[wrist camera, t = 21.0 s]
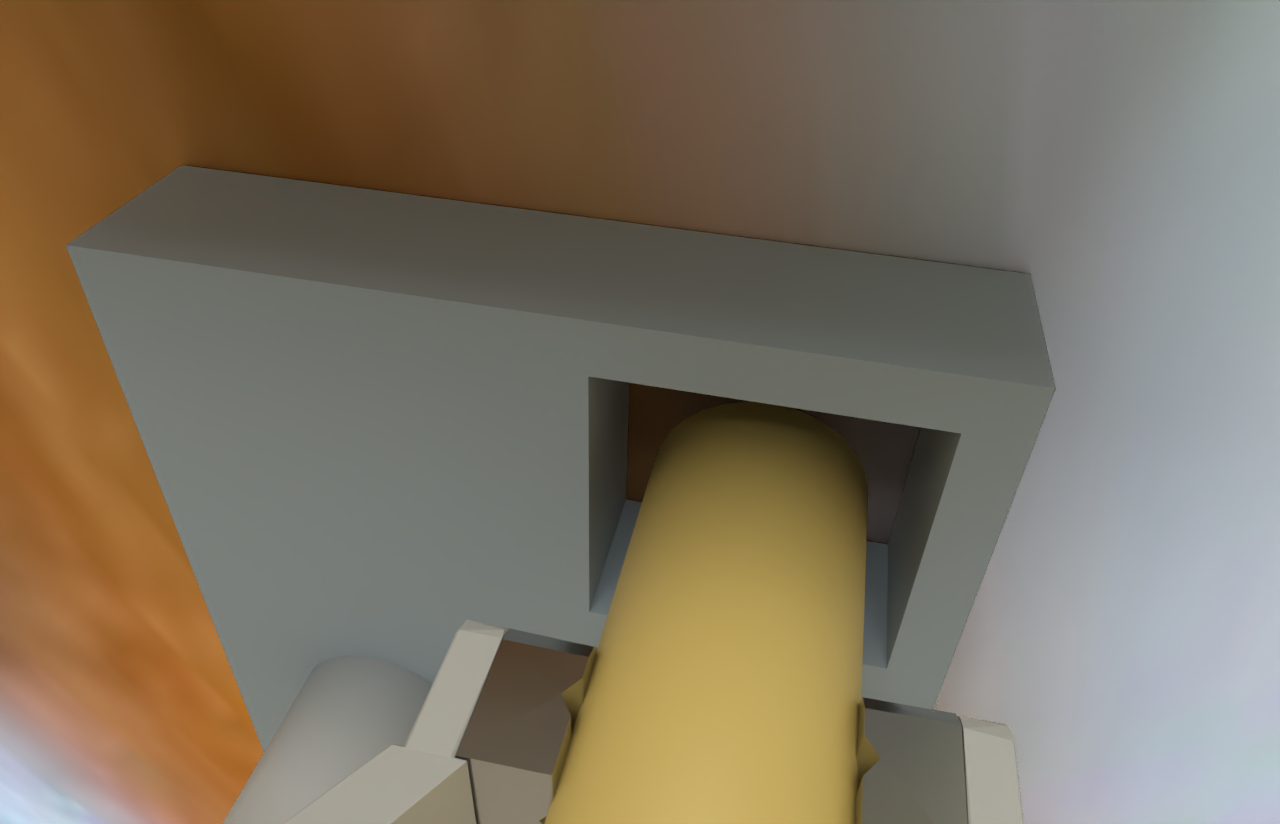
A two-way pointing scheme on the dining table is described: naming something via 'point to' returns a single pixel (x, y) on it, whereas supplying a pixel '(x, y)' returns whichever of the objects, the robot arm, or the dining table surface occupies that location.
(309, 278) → the board
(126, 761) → the dining table surface
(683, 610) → the peg
